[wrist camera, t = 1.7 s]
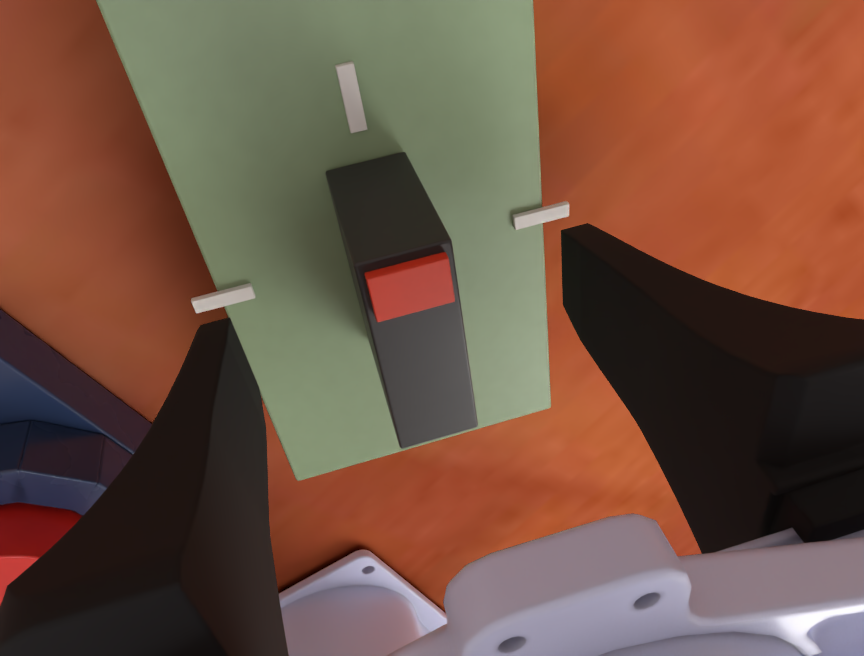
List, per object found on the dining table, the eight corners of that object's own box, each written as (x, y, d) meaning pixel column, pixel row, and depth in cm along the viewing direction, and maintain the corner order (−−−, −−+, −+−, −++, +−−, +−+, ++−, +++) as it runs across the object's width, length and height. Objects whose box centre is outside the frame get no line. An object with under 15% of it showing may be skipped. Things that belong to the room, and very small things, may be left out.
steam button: (135, 545, 21) (130, 598, 20) (27, 608, 21) (15, 664, 20) (22, 478, 18) (8, 534, 17) (-98, 551, 19) (-121, 611, 18)
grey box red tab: (436, 324, 19) (482, 435, 16) (369, 343, 19) (402, 458, 15) (405, 150, 16) (455, 246, 12) (324, 170, 15) (355, 272, 12)
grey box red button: (255, 500, 26) (261, 586, 23) (99, 590, 26) (87, 683, 24) (-39, 278, 18) (-80, 367, 15) (-245, 414, 19) (-319, 522, 16)
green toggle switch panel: (535, 343, 24) (572, 406, 22) (269, 417, 23) (277, 492, 21) (506, -142, 15) (564, -124, 13) (72, -53, 14) (46, -15, 12)
